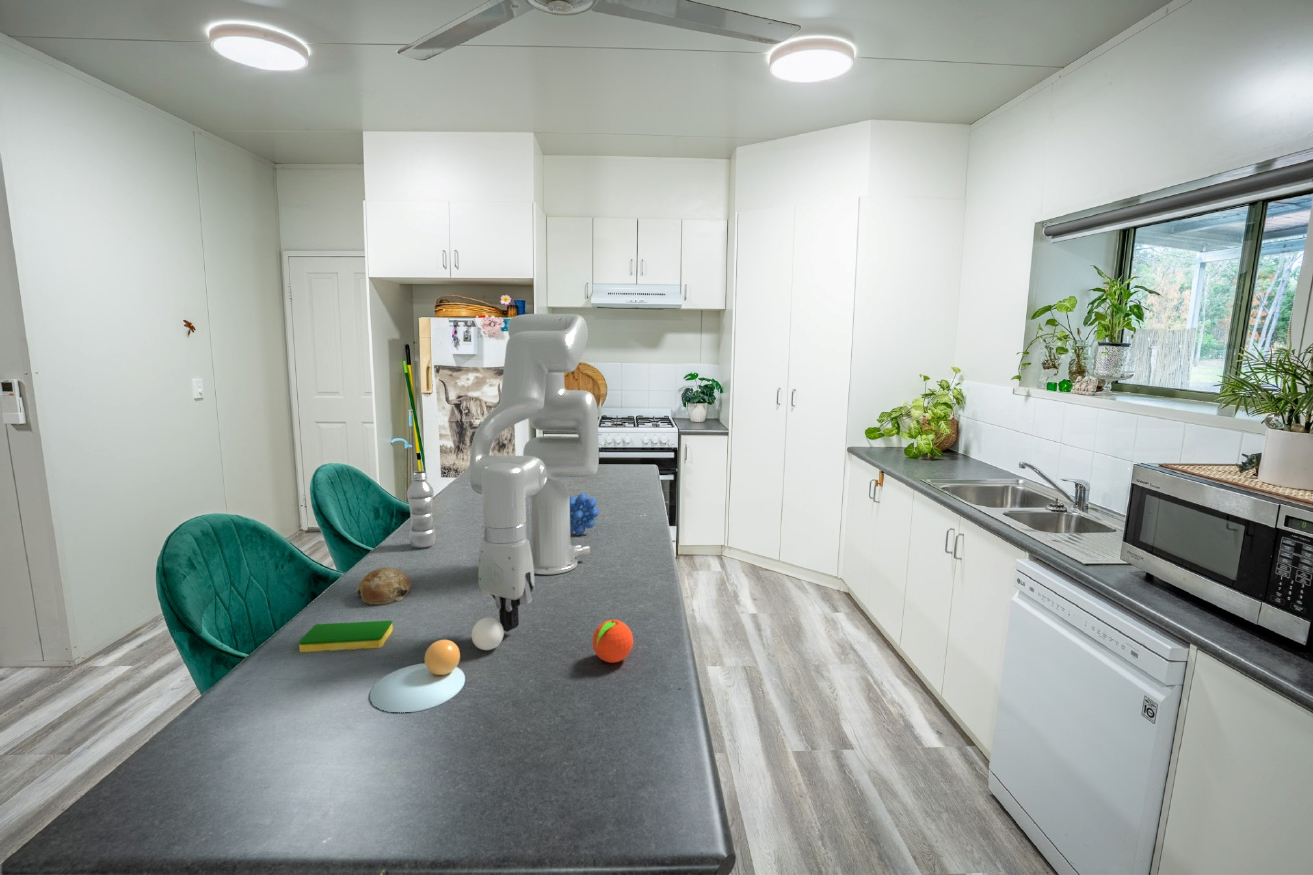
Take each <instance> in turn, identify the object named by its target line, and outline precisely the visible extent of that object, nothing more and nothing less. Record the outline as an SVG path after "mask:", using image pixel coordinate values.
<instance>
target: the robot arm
mask: <svg viewBox="0 0 1313 875" xmlns="http://www.w3.org/2000/svg"><path fill="white" fill-rule="evenodd" d="M588 332H589V330H588V325H587V322H586V320H585V319H584V317H583V316H581V315H580V314H576V313H525V314H518V315H515V316H512V318H510V319H509V321H508V324H507V333H508V337H509V338H508V340H507V343H506V347H505V357H504V363H503V364H504V365H503V373H502V381H501V382H502V384H501V390H500V391H501V392H500V401H499V402H498V404H497V406H496V407H495V408H493V409H492V410H491V411H490V412H489V413H488V414H487V415H486V417H485V418H484V419H483V421H481V423H480V424H479V426H478V427H477V429H476V432H475V434H474V436H473V439H472V442H471V448H470V455H469V456H470V457H469V464H468V482H469V486H470V487H471V489H472V490H473V492H475V493H477V494H479V495H481V498H482V499H481V500H482V503H481V504H482V520H483V522H482V526H481V528H482V529H483V538H481V540H480V546H479V552H478V573H477V574H478V587H479V589H480V590H481V591H483V592H485V593H486V594H488V595H490V596H492V598H493V599H494V601H495V607H496V609H499V610H498V615H499V622H500V623H501V625H502V626H503V630H504V632H506V633H509V632H510V631H511V630H514V629H515V628H518V626H519V623H520V622H519V620H520V619H519V618H520V617H519V607H521V606H522V605H527V604H529V603H531V602H533V597H532V592H533V591H534V590H535V574H536V575H556V574H557V575H558V574H564V573H567V572H569V571H572V570H573V569H575V568H576V567H577V566H578V557H579V556H581V555H588V554H590V553H591V549H590V548H591V547H590V546H589V545H584V546H582V545H581V544H578V545H572V544H571V542H572V541H571V534H570V497H571V496H570V493H569V489H568V487H566V485H565V483H564V482H563V481H562V480H561V478H587V477H589V478H590V477H592V476H594V475H595V474H596V473H597V471H598V468H599V463H600V462H599V460H600V454H599V453H600V448H599V445H600V444H599V413H598V405H597V400H596V398H595V396H594V394H593V393H592V392H590V391H588V390H584V389H581V390H580V389H566V387H565V386H566V385H565V373H567V374H568V373H572V372H574V371H575V370H576V369H577V368H578V366H579V364H580V361H581V360H582V357H583V355H584V352H585V349H586V347H587V343H588V340H589V339H588V338H589V333H588ZM528 419H529V420H528ZM526 420H528V421H529V423H530V426H531V427H532V428H533V429H536V430H538V431H545V432H546V431H547V432H575V433H577V436H572V435H571V436H567V435H566V436H562V435H561V436H560V435H544V436H543V435H542V436H536V437H533V438H531V439H529V440H528V441H526V443H525V445H524V447H523V453H522V455H514V454H513V455H509V454H508V455H507V454H506V455H503V454H501V455H500V454H496V455H494V454H490V453H491V448H492V446H493V444H494V442H495V440H496V439H497V438H498V436H499V435H500V434H502V432H504V431H506V430H507V429H509V428H511V427H513V426H514V425H517V424H519V423H520V422H523V421H526ZM526 498H528V504H529V505H528V507H529V509H528V510H529V537H530V538H529V539H530V540H529V539H528V528H527V527H528V525H527V523H528V522H527V503H526V502H527V501H526Z"/></svg>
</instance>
